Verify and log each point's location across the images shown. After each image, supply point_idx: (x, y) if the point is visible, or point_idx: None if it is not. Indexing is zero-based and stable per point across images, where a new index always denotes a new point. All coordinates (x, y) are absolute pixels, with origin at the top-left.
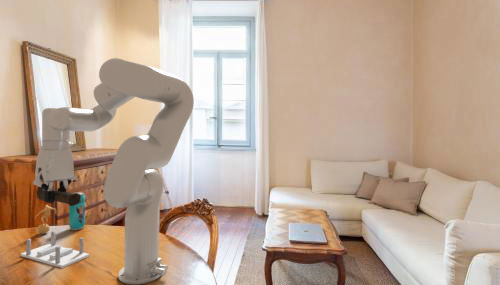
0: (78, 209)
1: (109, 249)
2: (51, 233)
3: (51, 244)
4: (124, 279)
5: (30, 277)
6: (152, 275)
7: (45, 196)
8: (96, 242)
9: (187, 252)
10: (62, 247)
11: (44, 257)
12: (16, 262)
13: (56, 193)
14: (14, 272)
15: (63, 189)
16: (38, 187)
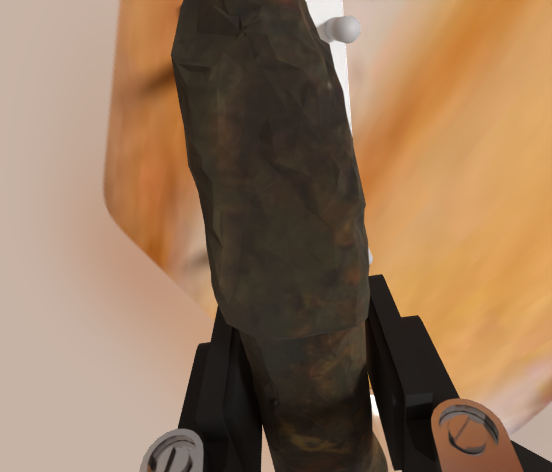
0: None
1: (439, 251)
2: (335, 31)
3: (326, 31)
4: None
5: (164, 250)
6: None
7: (194, 381)
8: (481, 140)
9: (511, 422)
10: (345, 99)
11: None
12: (157, 75)
13: (282, 463)
14: (134, 173)
15: (396, 470)
16: (181, 83)
